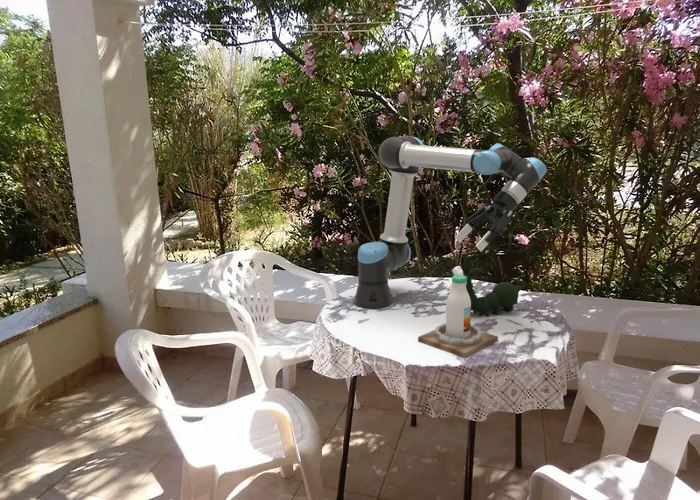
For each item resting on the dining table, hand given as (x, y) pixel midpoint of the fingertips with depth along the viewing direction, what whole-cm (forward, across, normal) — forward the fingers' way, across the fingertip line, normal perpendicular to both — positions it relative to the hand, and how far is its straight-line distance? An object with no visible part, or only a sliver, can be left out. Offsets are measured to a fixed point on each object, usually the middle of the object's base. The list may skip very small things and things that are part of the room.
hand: (467, 244), depth 175 cm
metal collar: (+25, -11, -13) cm, 31 cm away
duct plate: (+26, -11, -14) cm, 32 cm away
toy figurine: (+9, +8, -32) cm, 35 cm away
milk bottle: (+25, -11, -14) cm, 31 cm away
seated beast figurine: (+9, +32, -32) cm, 47 cm away
